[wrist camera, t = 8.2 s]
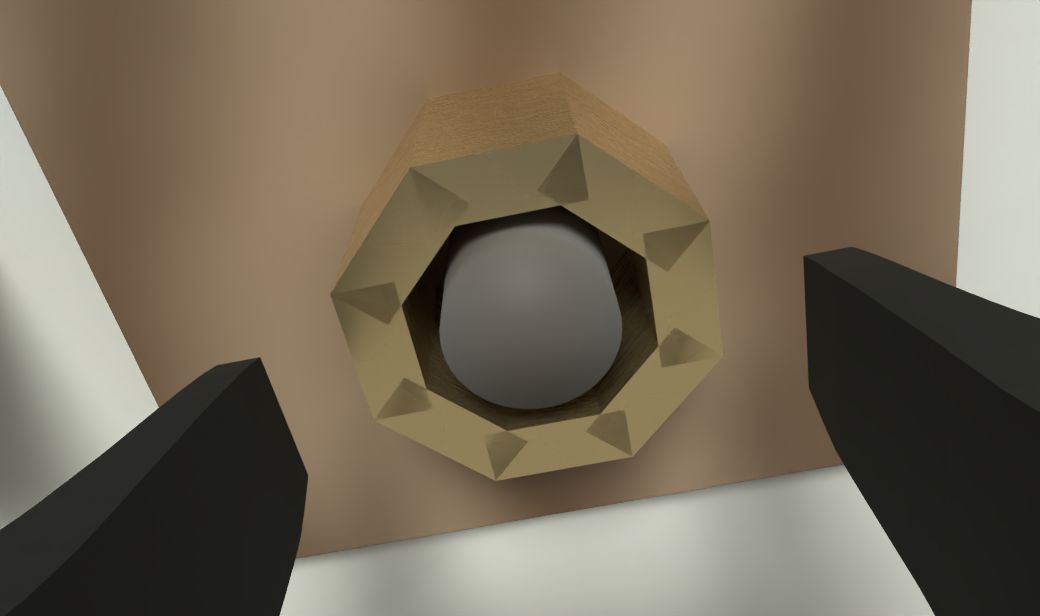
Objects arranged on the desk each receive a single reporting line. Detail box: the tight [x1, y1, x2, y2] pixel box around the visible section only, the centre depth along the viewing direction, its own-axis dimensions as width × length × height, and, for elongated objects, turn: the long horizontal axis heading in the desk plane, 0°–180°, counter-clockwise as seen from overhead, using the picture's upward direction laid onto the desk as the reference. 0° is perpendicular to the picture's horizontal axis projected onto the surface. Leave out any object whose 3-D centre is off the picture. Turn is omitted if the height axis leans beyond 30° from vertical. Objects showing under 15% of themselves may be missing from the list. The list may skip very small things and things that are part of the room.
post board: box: [0, 0, 972, 559], centre depth 14 cm, size 16×14×5 cm
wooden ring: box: [330, 72, 723, 481], centre depth 14 cm, size 6×6×4 cm
